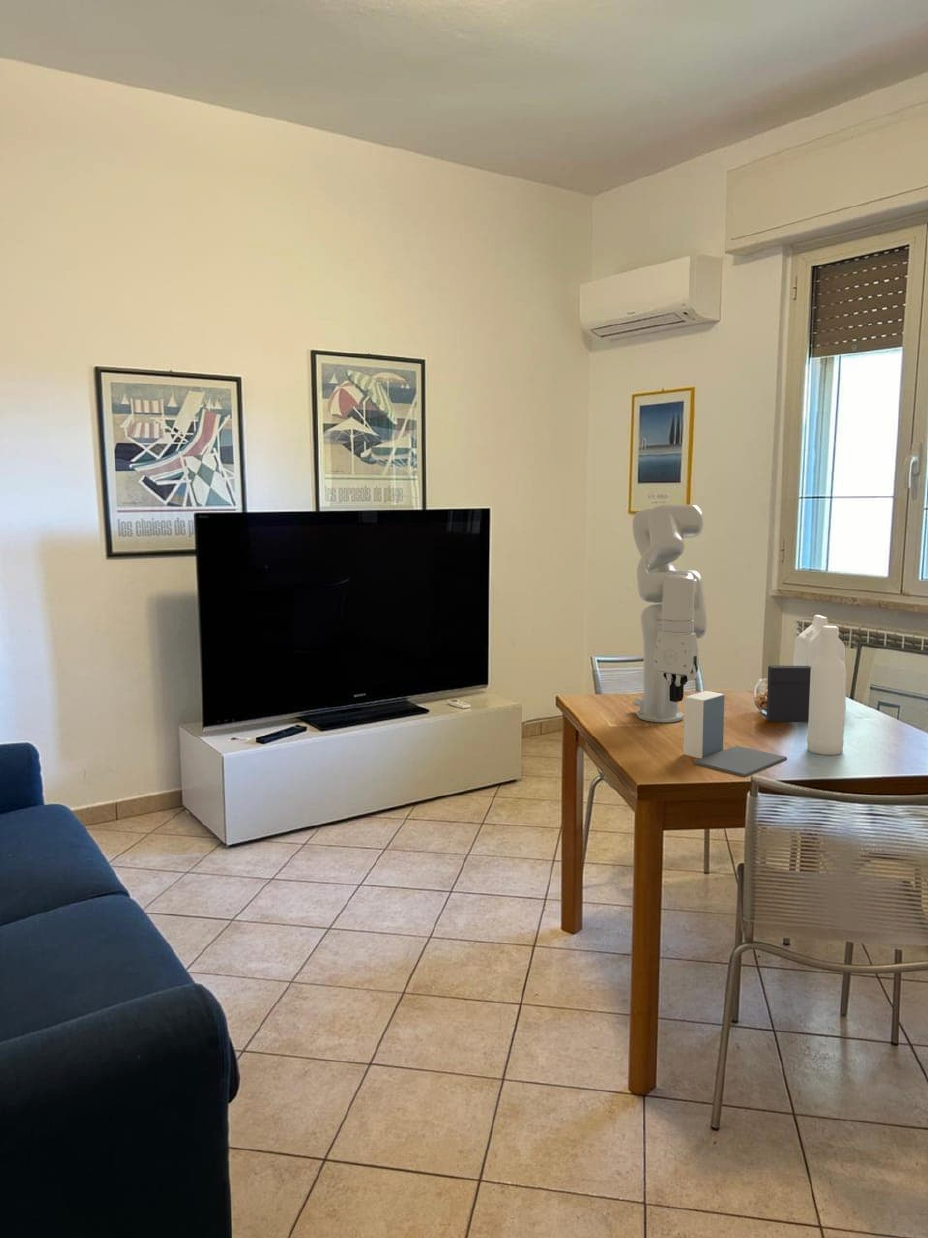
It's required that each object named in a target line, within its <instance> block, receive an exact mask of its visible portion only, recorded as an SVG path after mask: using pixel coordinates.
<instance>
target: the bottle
mask: <svg viewBox="0 0 928 1238" xmlns="http://www.w3.org/2000/svg"><path fill="white" fill-rule="evenodd" d="M821 635H822V639H821V656H820V657H818V658H817V659H816V660H815V661H814V662H813V665H812V667H811V673H810V697H809V721H808V722H807V724H808V726H807V727H808V728H807V738H806V741H807V742H806V743H807V745H806V747H807V748H806V749H807V751H809V752H811V753H814V754H817V755H822V756H838V755H841V754H842V753H843V751H844V749H843V748H844V732H845V731H844V729H845V728H844V726H845V710H846V709H845V697H846V688H847V687H846V685H847V668H846V664H845V665H844V663H843V662H842V661H841V660H840V659H839V658H838V657H837V654H838V638H839V636H840V628H839V627H838V626H836V625H828V626H823V627H822V631H821Z"/></svg>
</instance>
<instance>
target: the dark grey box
mask: <svg viewBox="0 0 928 1238" xmlns="http://www.w3.org/2000/svg"><path fill="white" fill-rule="evenodd" d="M767 667H768V668H767V691H766V692H767V693H766V696H767V697H766V720H768V721H769V722H770V723H771V722H773V723H775V722H777V723H782V722H783V723H808V721H809V697H810V673H811V667H810V666H793V665H768V666H767Z"/></svg>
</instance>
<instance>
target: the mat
mask: <svg viewBox="0 0 928 1238" xmlns="http://www.w3.org/2000/svg"><path fill="white" fill-rule="evenodd" d="M787 758H788V757H787V756H783V755H779V754H775V753H771V752H766V751H762V750H757V749H753V748H749V747H744V746H739V745H734V746H731V747H728V748H726V749H723V751H720V752H717V753H714V754H712V755H709V756H706V757H703V758H701V759H700V758H697V759H695V760H693V764H694V765H697V766H703V767H704V768H705V767H706V768H710V769H714V770H717V771H721V772H725V773H730V774H732V775H736V776H740V777H748V776H749V775H752V774H755V773H757V772H759V771H761V770H764V769H766V768H770V767H772V766H775V765H776V764H779V763H782V762H784V761H786V760H787Z"/></svg>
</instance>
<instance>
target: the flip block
mask: <svg viewBox="0 0 928 1238" xmlns="http://www.w3.org/2000/svg"><path fill="white" fill-rule="evenodd" d="M725 699H726V695H725V693H719V692H716V691H715V692H714V691H710V690H704V691H701V692H697V693H695V694H694V693H693V694H690V695H687V696H684V711H683V712H684V713H683V714H684V718H683V722H684V723H683V755H685V756H688V757H691V758H692V757H693V758H696V759H701V758H703V757H706V756H709V755H712V754H714V753H717V752H720V751H723V750H724V740H725V739H724V736H725V735H724V734H725V731H724V730H725V705H726V704H725V702H726V700H725Z"/></svg>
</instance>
